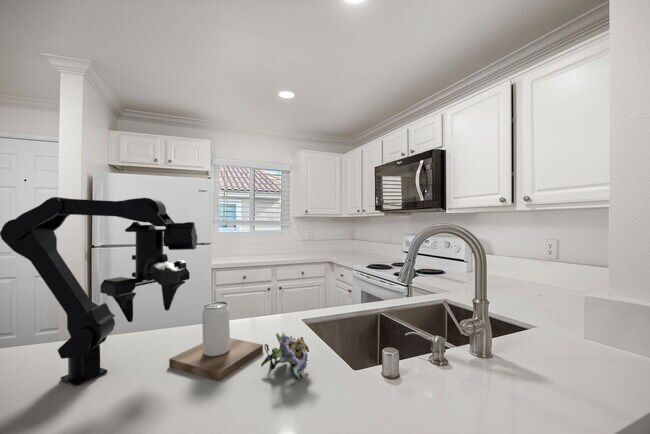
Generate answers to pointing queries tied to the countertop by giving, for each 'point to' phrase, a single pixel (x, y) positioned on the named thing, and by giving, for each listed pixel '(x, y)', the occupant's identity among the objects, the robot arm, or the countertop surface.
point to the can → (216, 329)
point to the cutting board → (216, 360)
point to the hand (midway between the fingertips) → (149, 315)
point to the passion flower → (289, 355)
